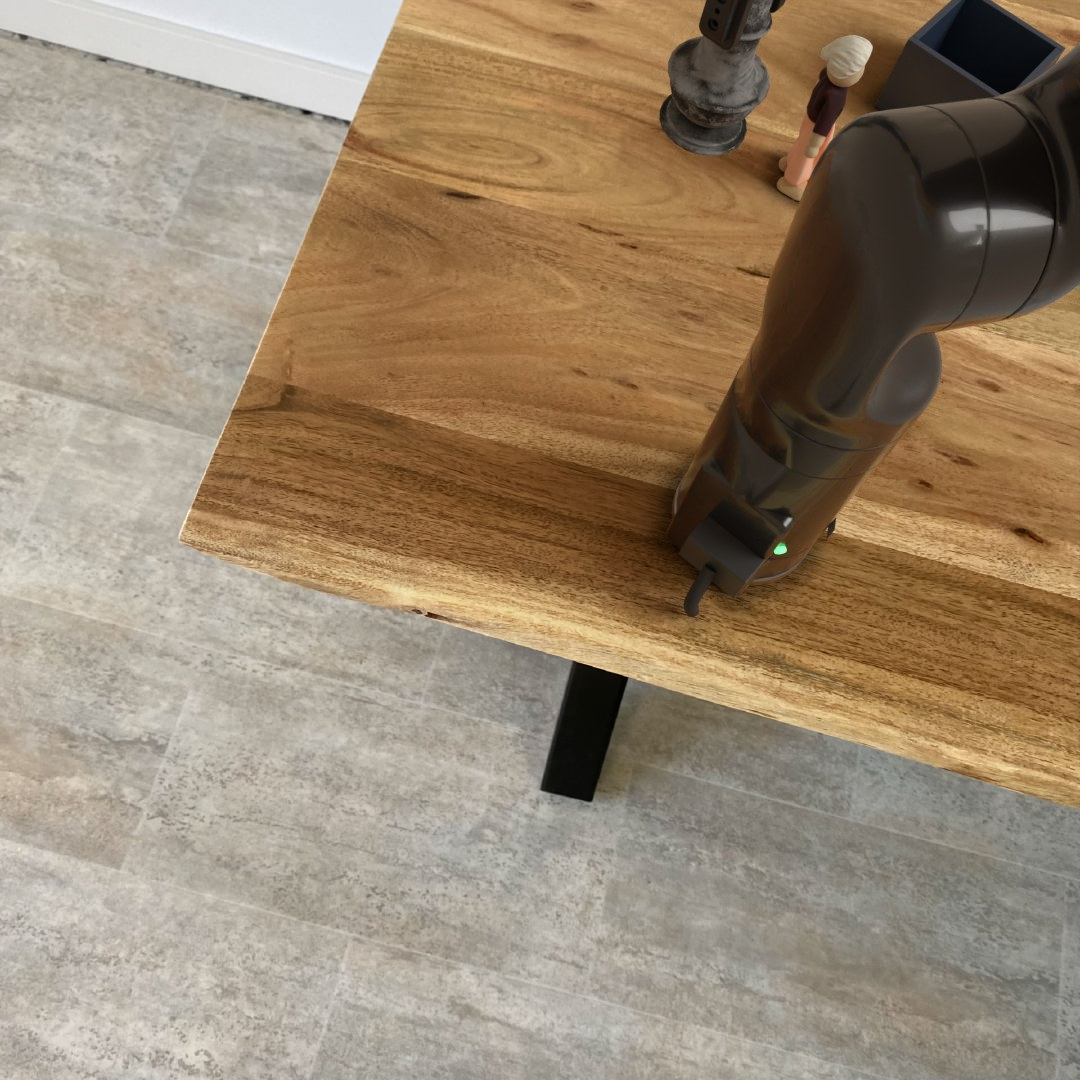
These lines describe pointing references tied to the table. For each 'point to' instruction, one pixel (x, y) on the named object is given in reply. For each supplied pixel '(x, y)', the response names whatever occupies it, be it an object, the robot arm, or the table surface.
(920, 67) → the bin
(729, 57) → the grey chess piece
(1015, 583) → the table surface
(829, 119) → the grandmother figurine
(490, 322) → the table surface
